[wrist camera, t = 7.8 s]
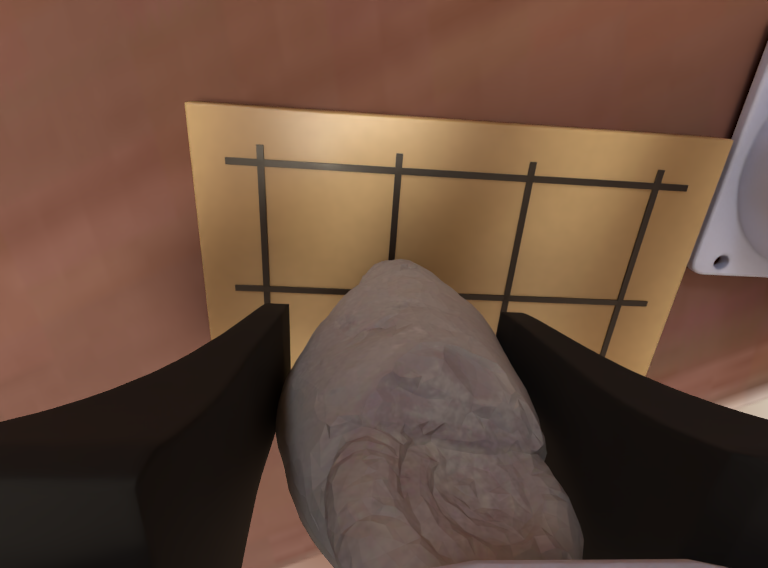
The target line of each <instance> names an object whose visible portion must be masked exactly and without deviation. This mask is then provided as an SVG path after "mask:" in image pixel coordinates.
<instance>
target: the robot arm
mask: <svg viewBox="0 0 768 568" xmlns="http://www.w3.org/2000/svg"><path fill="white" fill-rule="evenodd" d="M731 139H732V140H733V144H732V147H731V150H730V152H729V155H728V158H727V160H726V163H725V166H724V168H723V171H722V174H721V176H720V179H719V182H718V184H717V187H716V190H715V192H714V195H713V198H712V200H711V203H710V206H709V208H708V211H707V214H706V216H705V219H704V222H703V224H702V227H701V230H700V232H699V235H698V238H697V240H696V243H695V246H694V248H693V251H692V254H691V256H690V259H689V262H688V264H687V267H688V268H689V269H690V270H692V271H694V272H695V273H698V274H703V275H725V276H747V277H768V42H767V44H766V47H765V50H764V52H763V55H762V58H761V60H760V63H759V66H758V68H757V71H756V74H755V77H754V79H753V82H752V85H751V87H750V90H749V93H748V95H747V98H746V101H745V103H744V106H743V109H742V111H741V114H740V117H739V119H738V122H737V125H736V128H735V130H734V133H733V136H732V138H731ZM719 256H720V259H719V261H718V262H717V263H716V264H714V261H715V260H716V258H718V257H719ZM496 337H497V339H498V341H499V343H500V345H501V347H502V349H503V351H504V352H505V354H506V356H507V358H508V360H509V361H510V363H511V365H512V367H513V368H514V370H515V372H516V373H517V375H518V377H519V378H520V380H521V381H522V383H523V385H524V387H525V388H526V390H527V392H528V395H529V397H530V399H531V402H532V404H533V406H534V409H535V411H536V413H537V416H538V418H539V422H540V427H541V431H542V433H543V435H544V437H545V443H546V451H547V454H546V458H545V461H544V462H545V463H546V465H547V466H548V467H549V469H550V470H551V472H552V474H553V476H554V477H555V478H556V480H557V481H558V482H559V484H560V485H561V486H562V488H563V490H564V491H565V493H566V494H567V496H568V497H569V499H570V502H571V504H572V507H573V509H574V512H575V514H576V517H577V519H578V521H579V524H580V527H581V531H582V534H583V538H584V544H583V556H582V560H473V561H467V562H461V563H456V564H450V565H444V566H439V567H433V568H768V420H767V419H764V418H760V417H757V416H753V415H750V414H746V413H743V412H739V411H737V410H733V409H730V408H727V407H724V406H721V405H718V404H715V403H712V402H709V401H706V400H704V399H701V398H698V397H695V396H692V395H689V394H687V393H684V392H681V391H679V390H676V389H674V388H671V387H668V386H666V385H663V384H661V383H659V382H657V381H654V380H652V379H650V378H647V377H645V376H643V375H640V374H638V373H636V372H634V371H631V370H629V369H627V368H625V367H623V366H621V365H619V364H617V363H615V362H613V361H611V360H609V359H607V358H605V357H603V356H602V355H600V354H598V353H596V352H594V351H592V350H590V349H589V348H587V347H585V346H583V345H581V344H580V343H578V342H576V341H574V340H573V339H571V338H569V337H567V336H566V335H564V334H562V333H561V332H559V331H557V330H555V329H554V328H552V327H550V326H548V325H547V324H545V323H543V322H541V321H539V320H538V319H536V318H534V317H532V316H530V315H527V314H525V313H519V312H501V313H500V318H499V323H498V328H497V333H496ZM290 371H291V355H290V316H289V304H274V303H265V304H264V305H262V306H260V307H259V308H258V309H256V310H255V311H253V312H252V313H251V314H249V315H248V316H247V317H245V318H244V319H242V320H241V321H240V322H238V323H237V324H235V325H234V326H233V327H231V328H230V329H228V330H227V331H226V332H224V333H223V334H221V335H219V336H218V337H216V338H215V339H213V340H211V341H210V342H208V343H207V344H205V345H204V346H202V347H200V348H199V349H197V350H196V351H194V352H192V353H190V354H189V355H187V356H185V357H183V358H181V359H179V360H177V361H175V362H173V363H171V364H169V365H167V366H165V367H163V368H161V369H159V370H157V371H155V372H153V373H151V374H148V375H146V376H143V377H141V378H138V379H136V380H133V381H131V382H128V383H126V384H124V385H121V386H119V387H116V388H114V389H111V390H109V391H106V392H103V393H100V394H97V395H94V396H91V397H88V398H85V399H82V400H79V401H76V402H73V403H69V404H66V405H63V406H60V407H56V408H53V409H49V410H46V411H42V412H39V413H35V414H31V415H27V416H23V417H19V418H15V419H11V420H7V421H3V422H0V568H241V567H242V562H243V557H244V552H245V547H246V542H247V537H248V532H249V527H250V522H251V518H252V513H253V508H254V503H255V499H256V494H257V490H258V487H259V483H260V479H261V476H262V472H263V469H264V466H265V463H266V460H267V457H268V454H269V451H270V448H271V445H272V441H273V438H274V435H275V432H276V416H277V409H278V402H279V399H280V395H281V392H282V389H283V386H284V383H285V380H286V377H287V376H288V374H289V373H290Z"/></svg>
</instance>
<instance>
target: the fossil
mask: <svg viewBox="0 0 768 568" xmlns="http://www.w3.org/2000/svg"><path fill="white" fill-rule="evenodd" d="M276 437H277V443H278V448H279V451H280V454H281V457H282V460H283V464H284V468H285V473H286V478H287V483H288V488H289V491H290V494H291V496H292V499H293V502H294V504H295V507H296V510H297V512H298V515H299V518H300V520H301V522H302V524H303V525H304V527H305V529H306V530H307V532H308V534H309V536H310V537H311V539H312V540H313V542H314V543H315V545H316V546H317V547H318V549H319V550H320V552H321V553H322V554H323V555H324V556H325V558H326V559H327V560H328V561H329V562H330V564H331V565H332V566H333V567H334V568H433V567H439V566H444V565H450V564H456V563H461V562H467V561H473V560H582V556H583V544H584V538H583V534H582V531H581V527H580V524H579V521H578V519H577V517H576V514H575V512H574V509H573V507H572V504H571V502H570V499H569V497H568V496H567V494H566V493H565V491H564V490H563V488H562V486H561V485H560V484H559V482H558V481H557V480H556V478H555V477H554V476H553V474H552V472H551V470H550V469H549V467H548V466H547V465H546V463H545V462H544V461H545V458H546V454H547V451H546V443H545V437H544V435H543V433H542V431H541V427H540V422H539V418H538V416H537V413H536V411H535V409H534V406H533V404H532V402H531V399H530V397H529V395H528V392H527V390H526V388H525V387H524V385H523V383H522V381H521V380H520V378H519V377H518V375H517V373H516V372H515V370H514V368H513V367H512V365H511V363H510V361H509V360H508V358H507V356H506V354H505V352H504V351H503V349H502V347H501V345H500V343H499V341H498V339H497V337H496V335H495V333H494V331H493V330H492V328H491V327H490V325H489V324H488V323H487V321H486V320H485V318H484V317H483V316H482V314H481V313H480V312H479V311H478V310H477V309H476V308H475V307H474V306H473V305H472V304H471V303H469V302H468V301H467V300H465V299H464V298H463V297H461V296H460V295H459V294H458V293H457V292H456V291H455V290H454V289H452V288H451V287H450V286H448V285H447V284H445V283H444V282H443V281H441V280H440V279H439V278H438V277H437V276H436V275H434V274H433V273H432V272H430V271H429V270H427V269H425V268H423V267H422V266H420V265H418V264H416V263H414V262H412V261H410V260H405V259H397V260H385V261H382V262H379V263H377V264H374V265H373V266H372V267H371V268H370V269H369V270H368V272H367V273H366V274H365V275H363V276H362V279H361V281H360V283H359V285H357V286H356V287H354V288H353V289H351V290H350V291H349V292H348V293H347V294H345V295H344V296H343V297H342V299H341V300H340V301H339V302H338V303H337V305H336V306H335V307H334V308H333V310H332V311H331V312H330V314H329V315H328V316H327V318H326V319H325V320H323V321H322V322H321V323H320V325H319V326H318V327H317V328H316V330H315V331H314V333H313V334H312V336H311V337H310V339H309V341H308V343H307V344H306V346H305V348H304V350H303V351H302V353H301V354H300V355H299V357H298V358H297V360H296V362H295V364H294V365H293V367H292V369H291V371H290V373H289V374H288V376H287V377H286V380H285V383H284V386H283V389H282V392H281V395H280V399H279V402H278V409H277V416H276Z"/></svg>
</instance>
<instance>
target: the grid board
mask: <svg viewBox="0 0 768 568" xmlns="http://www.w3.org/2000/svg"><path fill="white" fill-rule="evenodd" d="M185 112H186V121H187V130H188V139H189V148H190V157H191V166H192V174H193V183H194V192H195V201H196V210H197V219H198V228H199V237H200V246H201V255H202V264H203V273H204V282H205V291H206V300H207V309H208V318H209V327H210V336H211V340H213V339H215V338H216V337H218V336H219V335H221V334H223V333H224V332H226V331H227V330H228V329H230V328H231V327H233V326H234V325H235V324H237V323H238V322H240V321H241V320H242V319H244V318H245V317H247V316H248V315H249V314H251V313H252V312H253V311H255V310H256V309H258V308H259V307H260V306H262V305H264V304H265V303H274V304H289V316H290V355H291V369H292V367H293V365H294V364H295V362H296V360H297V358H298V357H299V355H300V354H301V353H302V351H303V350H304V348H305V346H306V344H307V343H308V341H309V339H310V337H311V336H312V334H313V333H314V331H315V330H316V328H317V327H318V326H319V325H320V323H321V322H322V321H323V320H325V319H326V318H327V316H328V315H329V314H330V312H331V311H332V310H333V308H334V307H335V306H336V305H337V303H338V302H339V301H340V300H341V299H342V297H343V296H344V295H345V294H347V293H348V292H349V291H350V290H351V289H353V288H354V287H356V286H357V285H359V283H360V281H361V279H362V276H363V275H365V274H366V273H367V272H368V270H369V269H370V268H371V267H372V266H373V265H374V264H377V263H379V262H382V261H385V260H397V259H405V260H410V261H412V262H414V263H416V264H418V265H420V266H422V267H423V268H425V269H427V270H429V271H430V272H432V273H433V274H434V275H436V276H437V277H438V278H439V279H440V280H441V281H443V282H444V283H445V284H447V285H448V286H450V287H451V288H452V289H454V290H455V291H456V292H457V293H458V294H459V295H460V296H461V297H463V298H464V299H465V300H467V301H468V302H469V303H471V304H472V305H473V306H474V307H475V308H476V309H477V310H478V311H479V312H480V313H481V314H482V316H483V317H484V318H485V320H486V321H487V323H488V324H489V325H490V327H491V328H492V330H493V331H494V333H495V335H496V333H497V328H498V323H499V318H500V313H501V312H519V313H525V314H527V315H530V316H532V317H534V318H536V319H538V320H539V321H541V322H543V323H545V324H547V325H548V326H550V327H552V328H554V329H555V330H557V331H559V332H561V333H562V334H564V335H566V336H567V337H569V338H571V339H573V340H574V341H576V342H578V343H580V344H581V345H583V346H585V347H587V348H589V349H590V350H592V351H594V352H596V353H598V354H600V355H602V356H603V357H605V358H607V359H609V360H611V361H613V362H615V363H617V364H619V365H621V366H623V367H625V368H627V369H629V370H631V371H634V372H636V373H638V374H640V375H643V376H646V374H647V371H648V368H649V366H650V363H651V360H652V358H653V355H654V352H655V350H656V347H657V344H658V342H659V339H660V336H661V334H662V331H663V328H664V326H665V323H666V320H667V318H668V315H669V312H670V310H671V307H672V304H673V302H674V299H675V296H676V294H677V291H678V288H679V286H680V283H681V280H682V278H683V275H684V272H685V270H686V267H687V264H688V262H689V259H690V256H691V254H692V251H693V248H694V246H695V243H696V240H697V238H698V235H699V232H700V230H701V227H702V224H703V222H704V219H705V216H706V214H707V211H708V208H709V206H710V203H711V200H712V198H713V195H714V192H715V190H716V187H717V184H718V182H719V179H720V176H721V174H722V171H723V168H724V166H725V163H726V160H727V158H728V155H729V152H730V150H731V147H732V144H733V140H732V139H726V138H717V137H708V136H694V135H679V134H665V133H650V132H636V131H622V130H607V129H593V128H578V127H564V126H549V125H535V124H520V123H506V122H492V121H477V120H463V119H448V118H434V117H419V116H405V115H390V114H376V113H362V112H347V111H333V110H318V109H304V108H289V107H275V106H260V105H246V104H231V103H217V102H203V101H189V102H185Z"/></svg>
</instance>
